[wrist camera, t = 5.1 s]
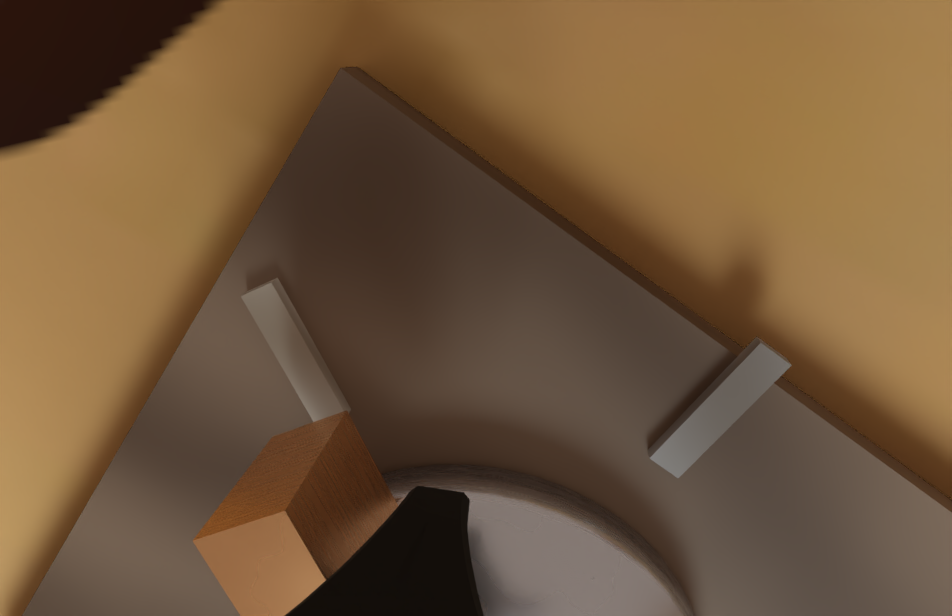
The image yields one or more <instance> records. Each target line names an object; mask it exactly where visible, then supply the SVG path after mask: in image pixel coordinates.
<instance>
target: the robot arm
mask: <svg viewBox="0 0 952 616" xmlns="http://www.w3.org/2000/svg"><path fill="white" fill-rule="evenodd" d="M469 505H470V499H469V498H468V497H467V496H466V494H465V493H464V492H458V491H451V490H444V489H438V488H431V487H424V486H417V487H415V488H414V489H412V490H411V491H410V492H409V493H408V494H407V496H406V497H405V498H404V500H403V501H402V502H401V503H400V504H399V506H398V507H397V508H396V509H395V510H394V512H393V513H392V514H391V515H390V516H389V517H388V519H387V520H386V521H385V522H384V523H383V524H382V525H381V526H380V527H379V528H378V530H377V531H376V532H375V533H374V534H373V535H372V536H371V537H370V538H369V539H368V540H367V541H366V542H365V543H364V544H363V545H362V546H361V547H360V548H359V549H358V550H357V551H356V552H355V553H354V554H353V555H352V556H351V557H350V558H349V559H348V560H347V561H346V562H345V563H344V564H343V565H342V566H341V567H340V568H339V569H338V570H337V571H336V572H335V573H333V574H332V575H331V576H330V577H329V578H328V579H327V580H326V581H325V582H323V583H322V584H321V585H320V586H319V587H318V588H317V589H316V590H315V591H313V592H312V593H311V594H310V595H309V596H308V597H307V598H306V599H304V600H303V601H302V602H301V603H300V604H298V605H297V606H296V607H295V608H293V609H292V610H291V611H290V612H289V613H287V614H286V615H285V616H484V615H483V611H482V608H481V603H480V599H479V595H478V591H477V587H476V582H475V577H474V572H473V567H472V562H471V555H470V548H469V539H468V515H469Z"/></svg>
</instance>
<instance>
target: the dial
mask: <svg viewBox="0 0 952 616" xmlns="http://www.w3.org/2000/svg"><path fill="white" fill-rule="evenodd" d="M417 486H424V487H431V488H438V489H444V490H451V491H458V492H464V493H465V494H466V496H467V497H468V498H469V499H470V505H469V515H468V539H469V548H470V555H471V562H472V567H473V572H474V577H475V582H476V587H477V591H478V595H479V599H480V603H481V608H482V611H483V615H484V616H694V613H693V610H692V607H691V604H690V602H689V600H688V598H687V596H686V594H685V592H684V590H683V588H682V586H681V584H680V582H679V581H678V579H677V578H676V576H675V575H674V573H673V572H672V571H671V569H670V568H669V566H668V565H667V564H666V562H665V561H664V559H663V558H662V557H661V556H660V555H659V554H658V552H657V551H656V550H655V549H654V548H653V547H652V546H651V545H650V544H649V543H648V542H647V541H646V540H645V539H644V538H643V537H642V536H641V535H640V534H639V533H638V532H636V531H635V530H634V529H633V528H632V527H630V526H629V525H628V524H627V523H625V522H624V521H623V520H622V519H620V518H619V517H618V516H616V515H615V514H613V513H612V512H610V511H609V510H607V509H605V508H604V507H602V506H601V505H599V504H597V503H596V502H594V501H593V500H591V499H589V498H587V497H585V496H583V495H580V494H578V493H576V492H574V491H572V490H570V489H568V488H566V487H564V486H561V485H559V484H556V483H553V482H550V481H547V480H544V479H541V478H538V477H535V476H532V475H529V474H524V473H520V472H515V471H510V470H506V469H501V468H495V467H486V466H476V465H467V464H456V465H428V466H420V467H412V468H405V469H400V470H396V471H392V472H388V473H384V474H381V473H380V471H379V469H378V467H377V465H376V463H375V462H374V460H373V458H372V456H371V454H370V452H369V450H368V448H367V447H366V445H365V443H364V441H363V439H362V437H361V435H360V433H359V432H358V430H357V428H356V426H355V424H354V422H353V420H352V419H351V417H350V415H349V413H348V411H347V410H346V411H343V412H340V413H338V414H335V415H332V416H329V417H326V418H323V419H321V420H318V421H315V422H312V423H309V424H307V425H304V426H301V427H298V428H295V429H293V430H290V431H287V432H284V433H281V434H278V435H276V436H273V437H272V438H271V439H270V440H269V442H268V443H267V444H266V446H265V447H264V448H263V450H262V451H261V452H260V453H259V455H258V456H257V457H256V459H255V460H254V461H253V463H252V464H251V465H250V466H249V468H248V469H247V470H246V472H245V473H244V474H243V476H242V477H241V478H240V479H239V481H238V482H237V483H236V485H235V486H234V487H233V489H232V490H231V491H230V492H229V494H228V495H227V496H226V498H225V499H224V500H223V502H222V503H221V504H220V505H219V507H218V508H217V509H216V511H215V512H214V513H213V515H212V516H211V517H210V519H209V520H208V521H207V522H206V524H205V525H204V526H203V528H202V529H201V530H200V532H199V533H198V534H197V535H196V537H195V538H194V539H193V543H194V544H195V546H196V547H197V549H198V550H199V552H200V553H201V555H202V557H203V558H204V560H205V561H206V563H207V564H208V566H209V568H210V569H211V571H212V572H213V574H214V575H215V577H216V578H217V580H218V582H219V583H220V585H221V586H222V588H223V589H224V591H225V592H226V594H227V596H228V597H229V599H230V600H231V602H232V603H233V605H234V607H235V608H236V610H237V611H238V613H239V614H240V616H285V615H286V614H287V613H289V612H290V611H291V610H292V609H293V608H295V607H296V606H297V605H298V604H300V603H301V602H302V601H303V600H304V599H306V598H307V597H308V596H309V595H310V594H311V593H312V592H313V591H315V590H316V589H317V588H318V587H319V586H320V585H321V584H322V583H323V582H325V581H326V580H327V579H328V578H329V577H330V576H331V575H332V574H333V573H335V572H336V571H337V570H338V569H339V568H340V567H341V566H342V565H343V564H344V563H345V562H346V561H347V560H348V559H349V558H350V557H351V556H352V555H353V554H354V553H355V552H356V551H357V550H358V549H359V548H360V547H361V546H362V545H363V544H364V543H365V542H366V541H367V540H368V539H369V538H370V537H371V536H372V535H373V534H374V533H375V532H376V531H377V530H378V528H379V527H380V526H381V525H382V524H383V523H384V522H385V521H386V520H387V519H388V517H389V516H390V515H391V514H392V513H393V512H394V510H395V509H396V508H397V507H398V506H399V504H400V503H401V502H402V501H403V500H404V498H405V497H406V496H407V494H408V493H409V492H410V491H411V490H412V489H414V488H415V487H417Z"/></svg>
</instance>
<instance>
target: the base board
mask: <svg viewBox="0 0 952 616" xmlns="http://www.w3.org/2000/svg"><path fill="white" fill-rule="evenodd" d="M790 366H791V364H790V362H789V361H788V359H787V358H786V357H784V356H783V355H781V354H780V353H779V352H777V351H776V350H775V349H773V348H772V347H771V346H769V345H768V344H766V343H765V342H764V341H762V340H761V339H760V338H758V337H756V338H755V339H754V340H753V341H752V342H751V343H750V344H749V345H748V346H747V347H746V348H745V349H743V348H742V347H740V346H739V345H738V344H736V343H735V342H734V341H732V340H731V339H729V338H728V337H727V336H725V335H724V334H723V333H721V332H720V331H718V330H717V329H716V328H714V327H713V326H712V325H710V324H709V323H707V322H706V321H705V320H703V319H702V318H701V317H699V316H698V315H697V314H695V313H694V312H692V311H691V310H690V309H688V308H687V307H686V306H684V305H683V304H681V303H680V302H679V301H677V300H676V299H675V298H673V297H672V296H670V295H669V294H668V293H666V292H665V291H664V290H662V289H661V288H660V287H658V286H657V285H655V284H654V283H653V282H651V281H650V280H649V279H647V278H646V277H644V276H643V275H642V274H640V273H639V272H638V271H636V270H635V269H633V268H632V267H631V266H629V265H628V264H627V263H625V262H624V261H623V260H621V259H620V258H618V257H617V256H616V255H614V254H613V253H612V252H610V251H609V250H607V249H606V248H605V247H603V246H602V245H601V244H599V243H598V242H596V241H595V240H594V239H592V238H591V237H590V236H588V235H587V234H586V233H584V232H583V231H581V230H580V229H579V228H577V227H576V226H575V225H573V224H572V223H570V222H569V221H568V220H566V219H565V218H564V217H562V216H561V215H559V214H558V213H557V212H555V211H554V210H553V209H551V208H550V207H549V206H547V205H546V204H544V203H543V202H542V201H540V200H539V199H538V198H536V197H535V196H533V195H532V194H531V193H529V192H528V191H527V190H525V189H524V188H522V187H521V186H520V185H518V184H517V183H516V182H514V181H513V180H512V179H510V178H509V177H507V176H506V175H505V174H503V173H502V172H501V171H499V170H498V169H496V168H495V167H494V166H492V165H491V164H490V163H488V162H487V161H485V160H484V159H483V158H481V157H480V156H479V155H477V154H476V153H475V152H473V151H472V150H470V149H469V148H468V147H466V146H465V145H464V144H462V143H461V142H459V141H458V140H457V139H455V138H454V137H453V136H451V135H450V134H449V133H447V132H446V131H444V130H443V129H442V128H440V127H439V126H438V125H436V124H435V123H433V122H432V121H431V120H429V119H428V118H427V117H425V116H424V115H422V114H421V113H420V112H418V111H417V110H416V109H414V108H413V107H412V106H410V105H409V104H407V103H406V102H405V101H403V100H402V99H401V98H399V97H398V96H396V95H395V94H394V93H392V92H391V91H390V90H388V89H387V88H385V87H384V86H383V85H381V84H380V83H379V82H377V81H376V80H375V79H373V78H372V77H370V76H369V75H368V74H366V73H365V72H364V71H362V70H361V69H359V68H358V67H346V68H340V70H339V71H338V73H337V75H336V77H335V78H334V80H333V82H332V84H331V85H330V87H329V89H328V90H327V92H326V94H325V96H324V97H323V99H322V101H321V102H320V104H319V106H318V108H317V109H316V111H315V113H314V114H313V116H312V118H311V120H310V121H309V123H308V125H307V126H306V128H305V130H304V132H303V133H302V135H301V137H300V139H299V140H298V142H297V144H296V145H295V147H294V149H293V151H292V152H291V154H290V156H289V157H288V159H287V161H286V163H285V164H284V166H283V168H282V169H281V171H280V173H279V175H278V176H277V178H276V180H275V181H274V183H273V185H272V187H271V188H270V190H269V192H268V194H267V195H266V197H265V199H264V200H263V202H262V204H261V206H260V207H259V209H258V211H257V212H256V214H255V216H254V218H253V219H252V221H251V223H250V224H249V226H248V228H247V230H246V231H245V233H244V235H243V237H242V238H241V240H240V242H239V243H238V245H237V247H236V249H235V250H234V252H233V254H232V255H231V257H230V259H229V261H228V262H227V264H226V266H225V267H224V269H223V271H222V273H221V274H220V276H219V278H218V279H217V281H216V283H215V285H214V286H213V288H212V290H211V292H210V293H209V295H208V297H207V298H206V300H205V302H204V304H203V305H202V307H201V309H200V310H199V312H198V314H197V316H196V317H195V319H194V321H193V322H192V324H191V326H190V328H189V329H188V331H187V333H186V334H185V336H184V338H183V340H182V341H181V343H180V345H179V347H178V348H177V350H176V352H175V353H174V355H173V357H172V359H171V360H170V362H169V364H168V365H167V367H166V369H165V371H164V372H163V374H162V376H161V377H160V379H159V381H158V383H157V384H156V386H155V388H154V389H153V391H152V393H151V395H150V396H149V398H148V400H147V402H146V403H145V405H144V407H143V408H142V410H141V412H140V414H139V415H138V417H137V419H136V420H135V422H134V424H133V426H132V427H131V429H130V431H129V432H128V434H127V436H126V438H125V439H124V441H123V443H122V445H121V446H120V448H119V450H118V451H117V453H116V455H115V457H114V458H113V460H112V462H111V463H110V465H109V467H108V469H107V470H106V472H105V474H104V475H103V477H102V479H101V481H100V482H99V484H98V486H97V487H96V489H95V491H94V493H93V494H92V496H91V498H90V500H89V501H88V503H87V505H86V506H85V508H84V510H83V512H82V513H81V515H80V517H79V518H78V520H77V522H76V524H75V525H74V527H73V529H72V530H71V532H70V534H69V536H68V537H67V539H66V541H65V542H64V544H63V546H62V548H61V549H60V551H59V553H58V555H57V556H56V558H55V560H54V561H53V563H52V565H51V567H50V568H49V570H48V572H47V573H46V575H45V577H44V579H43V580H42V582H41V584H40V585H39V587H38V589H37V591H36V592H35V594H34V596H33V598H32V599H31V601H30V603H29V604H28V606H27V608H26V610H25V611H24V613H23V615H22V616H240V614H239V613H238V611H237V610H236V608H235V607H234V605H233V603H232V602H231V600H230V599H229V597H228V596H227V594H226V592H225V591H224V589H223V588H222V586H221V585H220V583H219V582H218V580H217V578H216V577H215V575H214V574H213V572H212V571H211V569H210V568H209V566H208V564H207V563H206V561H205V560H204V558H203V557H202V555H201V553H200V552H199V550H198V549H197V547H196V546H195V544H194V543H193V539H194V538H195V537H196V535H197V534H198V533H199V532H200V530H201V529H202V528H203V526H204V525H205V524H206V522H207V521H208V520H209V519H210V517H211V516H212V515H213V513H214V512H215V511H216V509H217V508H218V507H219V505H220V504H221V503H222V502H223V500H224V499H225V498H226V496H227V495H228V494H229V492H230V491H231V490H232V489H233V487H234V486H235V485H236V483H237V482H238V481H239V479H240V478H241V477H242V476H243V474H244V473H245V472H246V470H247V469H248V468H249V466H250V465H251V464H252V463H253V461H254V460H255V459H256V457H257V456H258V455H259V453H260V452H261V451H262V450H263V448H264V447H265V446H266V444H267V443H268V442H269V440H270V439H271V438H272V437H273V436H276V435H278V434H281V433H284V432H287V431H290V430H293V429H295V428H298V427H301V426H304V425H307V424H309V423H312V422H315V421H318V420H321V419H323V418H326V417H329V416H332V415H335V414H338V413H340V412H343V411H346V410H347V411H348V413H349V415H350V417H351V419H352V420H353V422H354V424H355V426H356V428H357V430H358V432H359V433H360V435H361V437H362V439H363V441H364V443H365V445H366V447H367V448H368V450H369V452H370V454H371V456H372V458H373V460H374V462H375V463H376V465H377V467H378V469H379V471H380V473H381V474H384V473H388V472H392V471H396V470H400V469H405V468H412V467H420V466H428V465H456V464H467V465H476V466H486V467H495V468H501V469H506V470H510V471H515V472H520V473H524V474H529V475H532V476H535V477H538V478H541V479H544V480H547V481H550V482H553V483H556V484H559V485H561V486H564V487H566V488H568V489H570V490H572V491H574V492H576V493H578V494H580V495H583V496H585V497H587V498H589V499H591V500H593V501H594V502H596V503H597V504H599V505H601V506H602V507H604V508H605V509H607V510H609V511H610V512H612V513H613V514H615V515H616V516H618V517H619V518H620V519H622V520H623V521H624V522H625V523H627V524H628V525H629V526H630V527H632V528H633V529H634V530H635V531H636V532H638V533H639V534H640V535H641V536H642V537H643V538H644V539H645V540H646V541H647V542H648V543H649V544H650V545H651V546H652V547H653V548H654V549H655V550H656V551H657V552H658V554H659V555H660V556H661V557H662V558H663V559H664V561H665V562H666V564H667V565H668V566H669V568H670V569H671V571H672V572H673V573H674V575H675V576H676V578H677V579H678V581H679V582H680V584H681V586H682V588H683V590H684V592H685V594H686V596H687V598H688V600H689V602H690V604H691V607H692V610H693V613H694V616H952V501H951V500H950V499H949V498H947V497H946V496H945V495H943V494H942V493H940V492H939V491H938V490H936V489H935V488H934V487H932V486H931V485H929V484H928V483H927V482H925V481H924V480H923V479H921V478H920V477H918V476H917V475H916V474H914V473H913V472H912V471H910V470H909V469H908V468H906V467H905V466H903V465H902V464H901V463H899V462H898V461H897V460H895V459H894V458H892V457H891V456H890V455H888V454H887V453H886V452H884V451H883V450H881V449H880V448H879V447H877V446H876V445H875V444H873V443H872V442H871V441H869V440H868V439H866V438H865V437H864V436H862V435H861V434H860V433H858V432H857V431H855V430H854V429H853V428H851V427H850V426H849V425H847V424H846V423H844V422H843V421H842V420H840V419H839V418H838V417H836V416H835V415H834V414H832V413H831V412H829V411H828V410H827V409H825V408H824V407H823V406H821V405H820V404H818V403H817V402H816V401H814V400H813V399H812V398H810V397H809V396H807V395H806V394H805V393H803V392H802V391H801V390H799V389H798V388H797V387H795V386H794V385H792V384H791V383H790V382H788V381H787V380H786V379H784V378H783V377H781V375H782V374H783V373H784V372H785V371H786V370H787V369H788V368H789V367H790Z"/></svg>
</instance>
